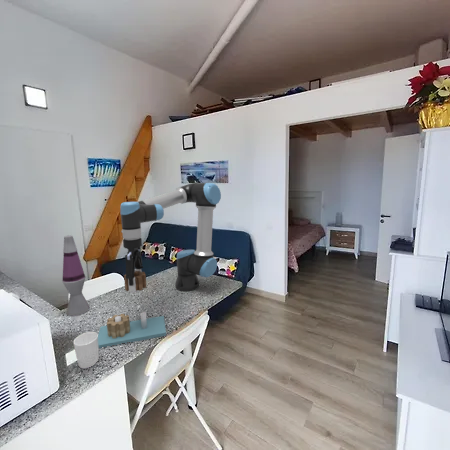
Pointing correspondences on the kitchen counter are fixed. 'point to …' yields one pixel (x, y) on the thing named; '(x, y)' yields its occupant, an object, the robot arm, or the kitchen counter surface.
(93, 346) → the white cup
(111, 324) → the maple gear
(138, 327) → the gear board
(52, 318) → the kitchen counter surface
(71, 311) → the lamp
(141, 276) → the walnut gear
